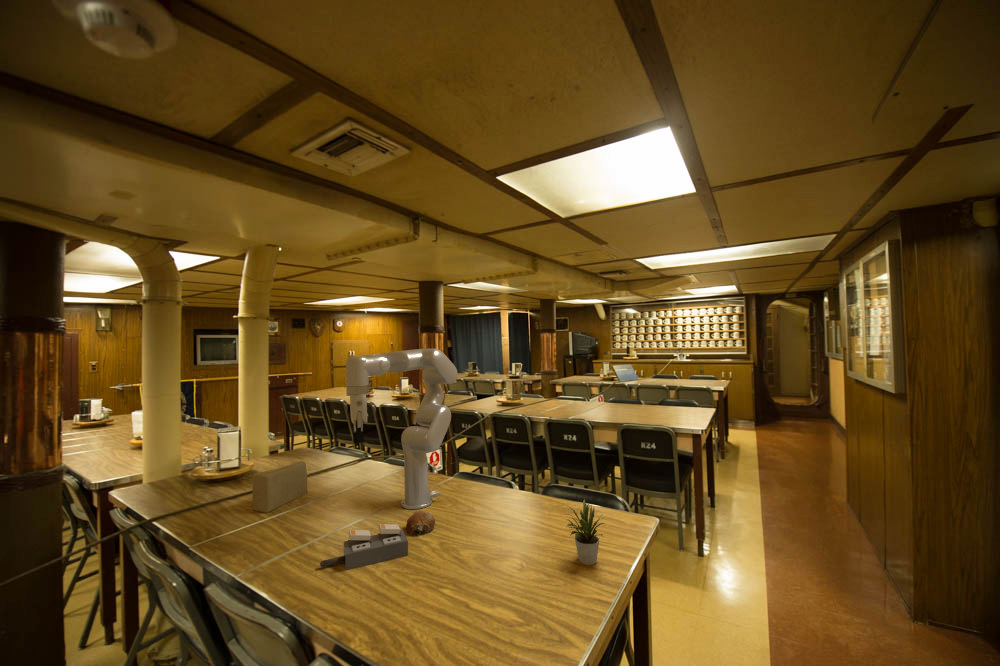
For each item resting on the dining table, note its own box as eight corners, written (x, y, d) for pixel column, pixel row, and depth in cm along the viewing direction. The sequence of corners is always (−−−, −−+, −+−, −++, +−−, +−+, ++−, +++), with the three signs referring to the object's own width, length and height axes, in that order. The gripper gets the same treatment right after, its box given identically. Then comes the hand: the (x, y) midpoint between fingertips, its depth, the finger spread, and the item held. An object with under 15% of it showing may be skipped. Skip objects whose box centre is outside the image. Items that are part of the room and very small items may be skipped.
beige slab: (299, 492, 183) (299, 459, 184) (314, 495, 179) (313, 461, 180) (251, 510, 163) (251, 473, 164) (266, 513, 159) (266, 475, 160)
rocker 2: (397, 528, 131) (398, 524, 131) (399, 533, 127) (400, 528, 127) (378, 528, 128) (379, 523, 128) (380, 533, 125) (381, 528, 125)
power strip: (402, 542, 132) (402, 527, 132) (408, 555, 123) (407, 538, 124) (319, 561, 121) (319, 544, 121) (320, 576, 113) (319, 558, 113)
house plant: (558, 546, 126) (557, 494, 127) (602, 545, 126) (601, 493, 127) (564, 571, 112) (562, 512, 113) (614, 571, 112) (612, 511, 112)
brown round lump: (437, 537, 143) (441, 513, 146) (424, 536, 134) (428, 510, 138) (413, 534, 146) (417, 510, 149) (398, 533, 137) (404, 507, 141)
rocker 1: (368, 534, 127) (369, 530, 127) (369, 540, 123) (370, 535, 123) (348, 534, 124) (349, 529, 125) (349, 540, 121) (350, 535, 121)
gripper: (371, 391, 137) (371, 445, 137) (366, 388, 151) (366, 437, 150) (347, 393, 134) (348, 448, 134) (345, 389, 148) (345, 439, 147)
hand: (358, 442), depth 142 cm, fingers closed
